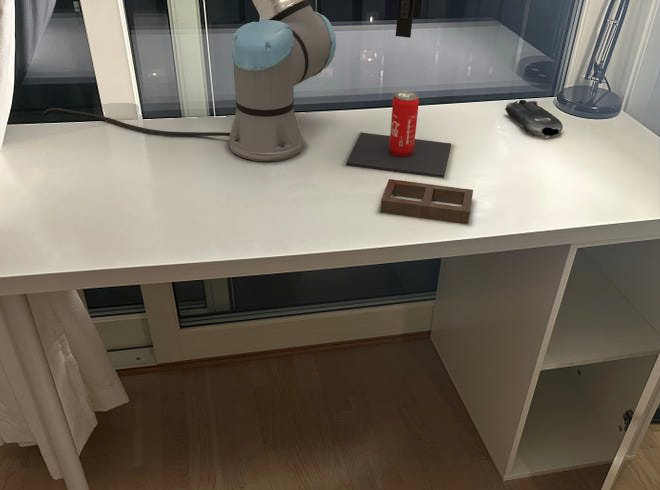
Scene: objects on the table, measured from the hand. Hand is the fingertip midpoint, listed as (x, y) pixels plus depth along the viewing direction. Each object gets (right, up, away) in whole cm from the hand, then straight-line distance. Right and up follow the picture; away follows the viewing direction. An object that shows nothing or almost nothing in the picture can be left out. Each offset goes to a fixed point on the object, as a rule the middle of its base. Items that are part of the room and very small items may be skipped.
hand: (408, 26), depth 133 cm
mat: (-1, -20, +15) cm, 25 cm away
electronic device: (+32, -9, +30) cm, 45 cm away
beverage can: (0, -20, +15) cm, 25 cm away
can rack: (+3, -35, -2) cm, 35 cm away
